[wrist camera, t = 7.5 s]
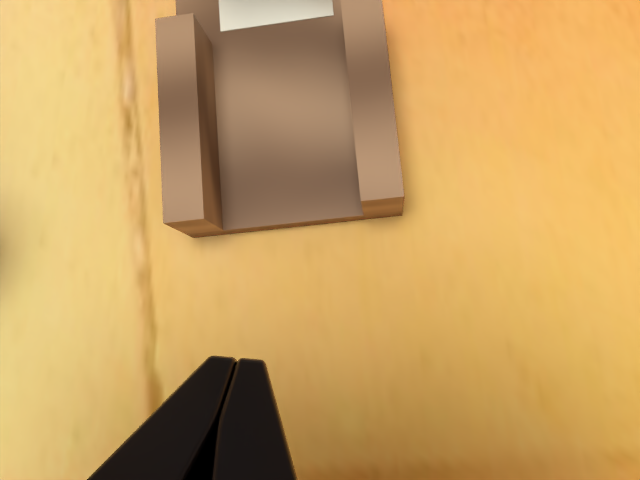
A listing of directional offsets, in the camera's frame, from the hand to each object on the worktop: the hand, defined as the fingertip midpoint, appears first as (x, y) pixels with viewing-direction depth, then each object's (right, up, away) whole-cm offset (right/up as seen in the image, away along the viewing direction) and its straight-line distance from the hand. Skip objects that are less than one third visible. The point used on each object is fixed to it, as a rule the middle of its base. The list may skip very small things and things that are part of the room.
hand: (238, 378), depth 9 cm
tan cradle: (0, +10, +16) cm, 19 cm away
